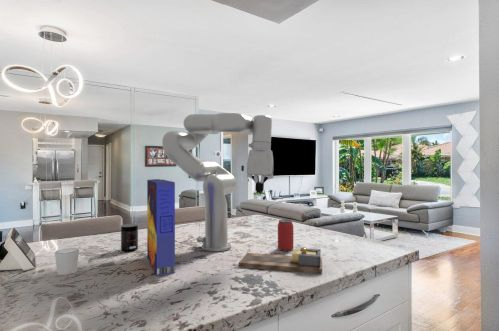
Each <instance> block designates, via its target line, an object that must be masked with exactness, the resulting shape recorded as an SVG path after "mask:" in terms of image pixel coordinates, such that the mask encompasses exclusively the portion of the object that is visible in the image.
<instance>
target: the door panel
mask: <svg viewBox="0 0 499 331" xmlns="http://www.w3.org/2000/svg"><path fill="white" fill-rule="evenodd" d="M238 267H239V268H250V269H262V270H271V271H272V270H273V271H284V272H285V271H286V272H294V273H295V272H296V273H308V274H321V275H322V274H323V273H322V272H323V258H322V257H321V262H320V267H309V266H299V263H295V262H292V255H284V254H270V253H257V252H256V253H255V252H247V253H246V254H245V255H244V256H242V258H241V259H240V260H239V262H238Z"/></svg>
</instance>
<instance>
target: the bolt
mask: <svg viewBox="0 0 499 331" xmlns="http://www.w3.org/2000/svg"><path fill="white" fill-rule="evenodd" d="M301 248H302V251H300V250H295V249H294V250H293V249H292V253H291V256H292V262H295V263H299V254H313V255H316V252H310V251H307V249H308V247H301Z"/></svg>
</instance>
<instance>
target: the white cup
mask: <svg viewBox="0 0 499 331" xmlns="http://www.w3.org/2000/svg"><path fill="white" fill-rule="evenodd" d="M79 254H80V249H79V248H76V247H75V248H73V247H71V248H64V249H60V250H57V251H56V250H55V252H54V257H55V266H56V274H57V275H58V276H61V275H62V276H66V275H71V274H74V273H76V272H78V271H77V270H78V263H79Z"/></svg>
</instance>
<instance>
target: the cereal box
mask: <svg viewBox="0 0 499 331" xmlns="http://www.w3.org/2000/svg"><path fill="white" fill-rule="evenodd" d="M146 182H147V184H146V186H147V187H146V190H147V198H146V200H147V204H146V207H147V210H146V212H147V214H146V215H147V218H146V222H147V223H146V224H147V226H146V228H147V230H146V231H147V232H146V234H147V235H146V237H147V238H146V240H147V242H146V243H147V244H146V245H147V259H148V261H149V264H150V266H151V268H152V270H153V273H154V275H155V276H156V277H157V276H164V275H171V274H175V273H176V182H175V181H170V180H166V179H160V178H158V179H157V178H156V179H155V178H154V179H153V178H152V179H147V180H146Z"/></svg>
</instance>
